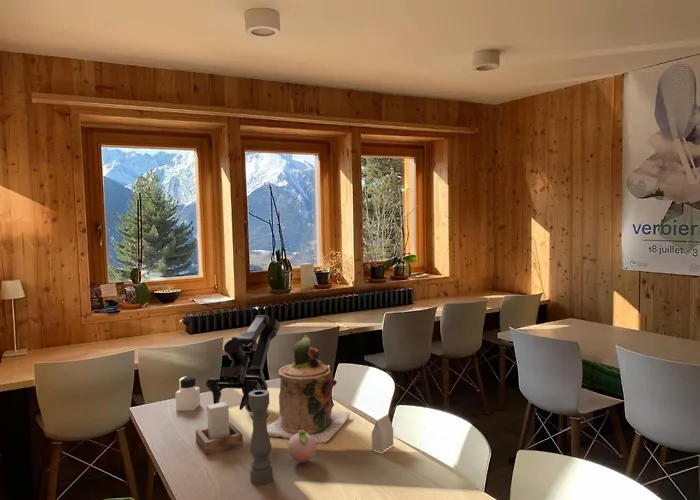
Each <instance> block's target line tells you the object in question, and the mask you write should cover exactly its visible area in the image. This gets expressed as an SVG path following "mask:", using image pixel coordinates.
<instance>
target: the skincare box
mask: <svg viewBox="0 0 700 500" xmlns="http://www.w3.org/2000/svg"><path fill="white" fill-rule="evenodd" d="M206 411H207V412H206V417H207V427H208V436H209V440H212V439H216V438H221V437H225V436H229V435H230V433H229V423H230V415H229V412H230V411H229V405H228V404H227V403H226V402H225V401H222V402H219V403H216V404H214V403H212V404H207V405H206Z"/></svg>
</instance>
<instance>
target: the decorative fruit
mask: <svg viewBox="0 0 700 500" xmlns="http://www.w3.org/2000/svg"><path fill="white" fill-rule="evenodd" d="M286 448H287V452H288V454H289V457H291V459H293V460H294V461H297V462H299V463H301V464H304V463H307V462H308V461H310V460H311V459H312V458H313V457H314V455H315V454H316V452H317V443H315V441H314V440H313V438H312V437H311V436H310V435H309V434H308V433H306V432H305V431H304V430H299V431H298V433H297V434H295V435H293V436H292V437H291V438H290V439H288V441H287V447H286Z"/></svg>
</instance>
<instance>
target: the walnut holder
mask: <svg viewBox="0 0 700 500" xmlns="http://www.w3.org/2000/svg"><path fill="white" fill-rule="evenodd" d="M229 433H230V435H229V436H225V437H221V438H216V439H212V440H209V436H208V426H207V427H203V428H199V429H195V443H196V444H197V445H198V447H199V448H200V450H201V451H202V452H203V453H204V455H205V456H209V455H213V454H214V455H215V454H218V453H221V452H225V451H230V450H234V449H238V448H242V447H244V438H243V436H244V435H243V433H242V432H241V431H240V430H239V429H238V428H237V427H236V426H235V425H234V424H233V423H232V422H230V421H229Z"/></svg>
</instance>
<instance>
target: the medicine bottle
mask: <svg viewBox="0 0 700 500" xmlns="http://www.w3.org/2000/svg"><path fill="white" fill-rule="evenodd" d="M178 384H179V385H178V386H179V389H178V390H177V391H175V394H174V395H175V396H174V397H175V410H176V411H177V412H178V411H184V412H185V411H186V412H189V411H190V412H193V411H196V409H197V408H198V407H200V405H201V392H200V391H201V390H200V387H199V386H197V385H196V378H195V377H194V376H192V375H191V376H190V375H188V376H182V377H181V378H179V380H178Z"/></svg>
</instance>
